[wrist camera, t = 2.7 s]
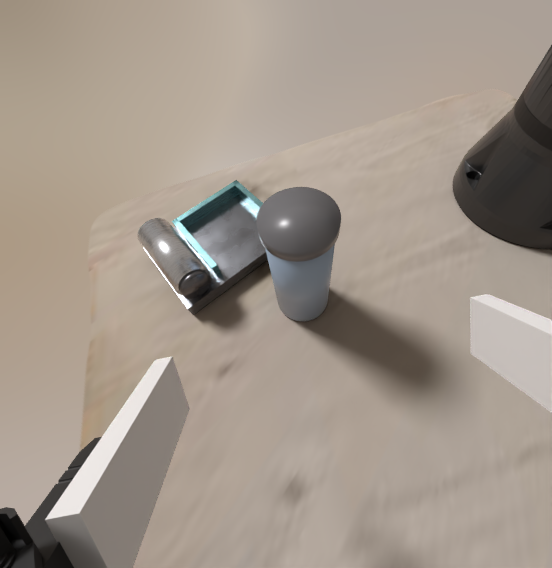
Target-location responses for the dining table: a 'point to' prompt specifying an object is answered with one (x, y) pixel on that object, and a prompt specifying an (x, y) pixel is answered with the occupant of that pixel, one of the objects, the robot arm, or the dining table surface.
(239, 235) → the motor mount
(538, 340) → the robot arm
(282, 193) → the ball
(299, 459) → the dining table surface
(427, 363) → the dining table surface
